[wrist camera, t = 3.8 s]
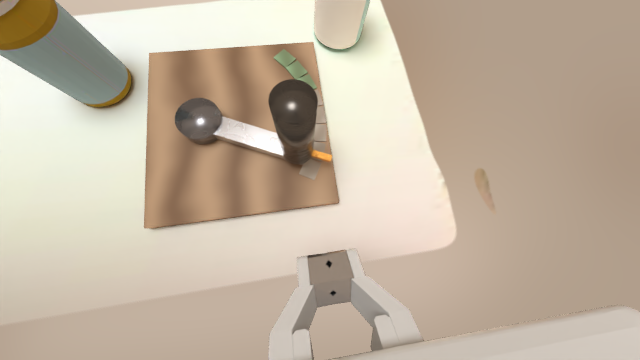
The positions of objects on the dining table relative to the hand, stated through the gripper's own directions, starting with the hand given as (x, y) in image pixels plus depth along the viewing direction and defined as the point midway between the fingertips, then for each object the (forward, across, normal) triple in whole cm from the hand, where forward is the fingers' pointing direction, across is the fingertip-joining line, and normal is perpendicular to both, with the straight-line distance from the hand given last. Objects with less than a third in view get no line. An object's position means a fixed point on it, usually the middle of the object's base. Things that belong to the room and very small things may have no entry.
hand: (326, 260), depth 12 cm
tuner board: (+23, +8, 0) cm, 24 cm away
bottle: (+28, +25, -6) cm, 38 cm away
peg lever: (+19, +5, +1) cm, 20 cm away
